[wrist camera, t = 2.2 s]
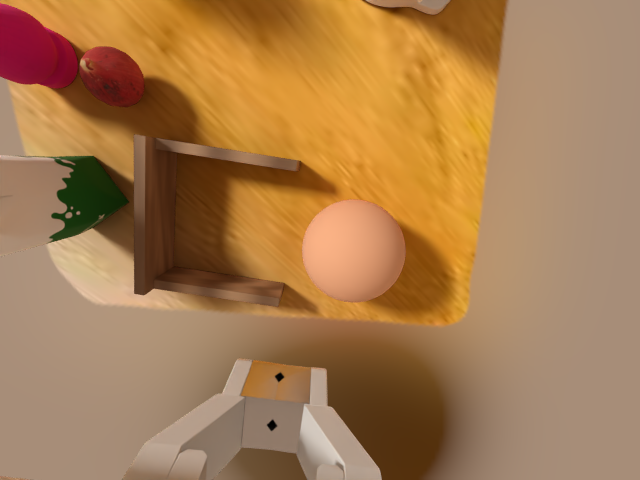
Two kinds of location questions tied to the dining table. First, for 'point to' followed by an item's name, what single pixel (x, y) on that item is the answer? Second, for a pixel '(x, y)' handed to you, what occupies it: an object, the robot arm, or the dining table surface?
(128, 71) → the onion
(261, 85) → the dining table surface
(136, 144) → the corral
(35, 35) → the pepper mill
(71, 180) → the milk carton
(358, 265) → the rubber ball
